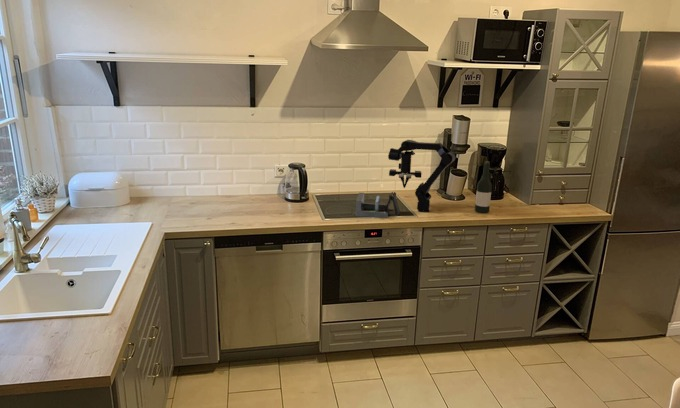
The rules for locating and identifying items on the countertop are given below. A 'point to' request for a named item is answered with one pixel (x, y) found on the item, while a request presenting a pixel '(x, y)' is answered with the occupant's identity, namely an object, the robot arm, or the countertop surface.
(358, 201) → the gauge frame
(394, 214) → the phone stand
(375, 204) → the paddle
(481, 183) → the wine bottle
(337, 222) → the countertop surface
